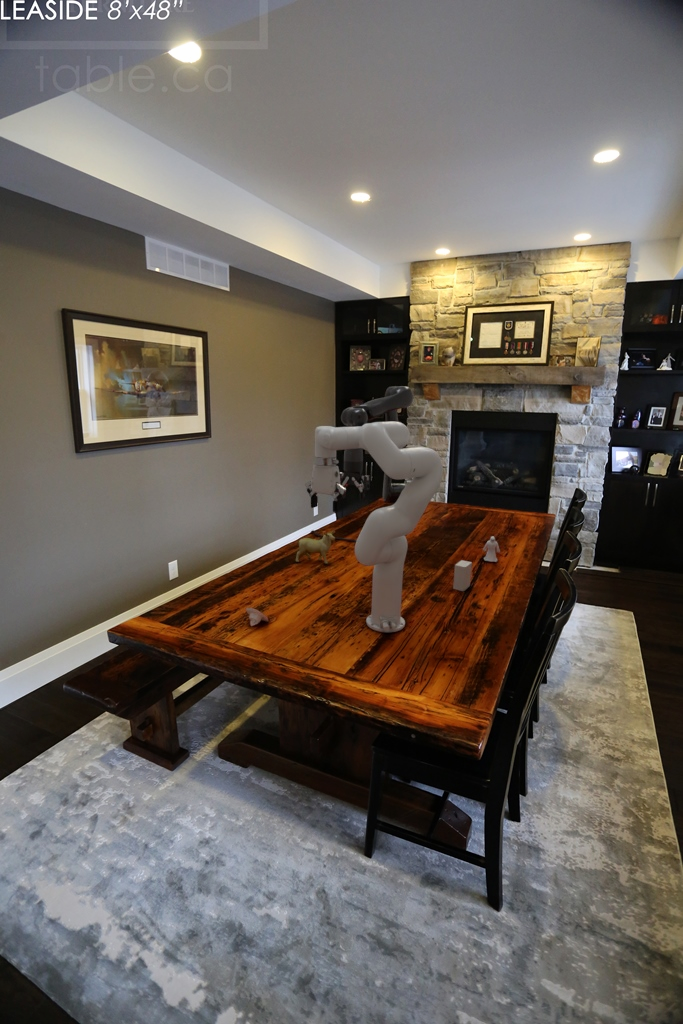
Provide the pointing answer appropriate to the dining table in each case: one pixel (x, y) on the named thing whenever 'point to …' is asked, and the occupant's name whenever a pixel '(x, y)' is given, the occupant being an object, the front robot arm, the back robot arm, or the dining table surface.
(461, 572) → the brick
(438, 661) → the dining table surface
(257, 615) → the seashell
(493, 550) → the figurine
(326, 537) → the toy
